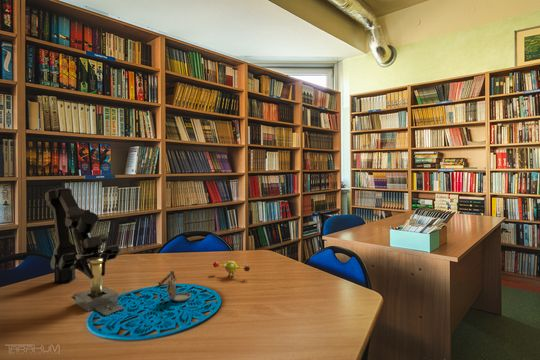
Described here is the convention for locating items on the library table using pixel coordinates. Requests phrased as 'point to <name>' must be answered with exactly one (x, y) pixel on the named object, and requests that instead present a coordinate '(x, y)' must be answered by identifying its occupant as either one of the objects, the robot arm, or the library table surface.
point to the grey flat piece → (98, 301)
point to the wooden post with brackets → (167, 278)
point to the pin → (96, 276)
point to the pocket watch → (172, 292)
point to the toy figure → (231, 267)
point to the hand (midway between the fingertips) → (97, 276)
